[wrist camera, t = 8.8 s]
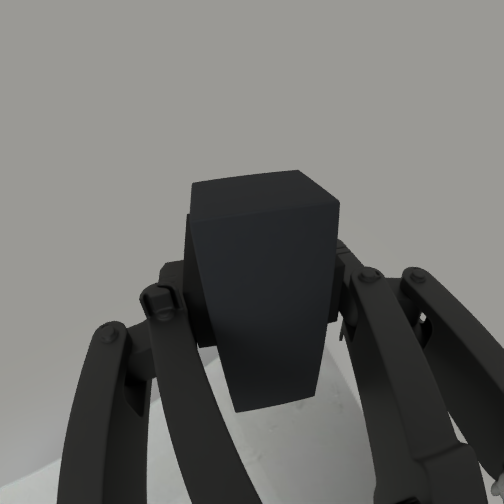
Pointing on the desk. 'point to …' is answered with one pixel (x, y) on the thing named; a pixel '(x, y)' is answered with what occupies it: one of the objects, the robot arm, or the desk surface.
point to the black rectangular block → (266, 280)
